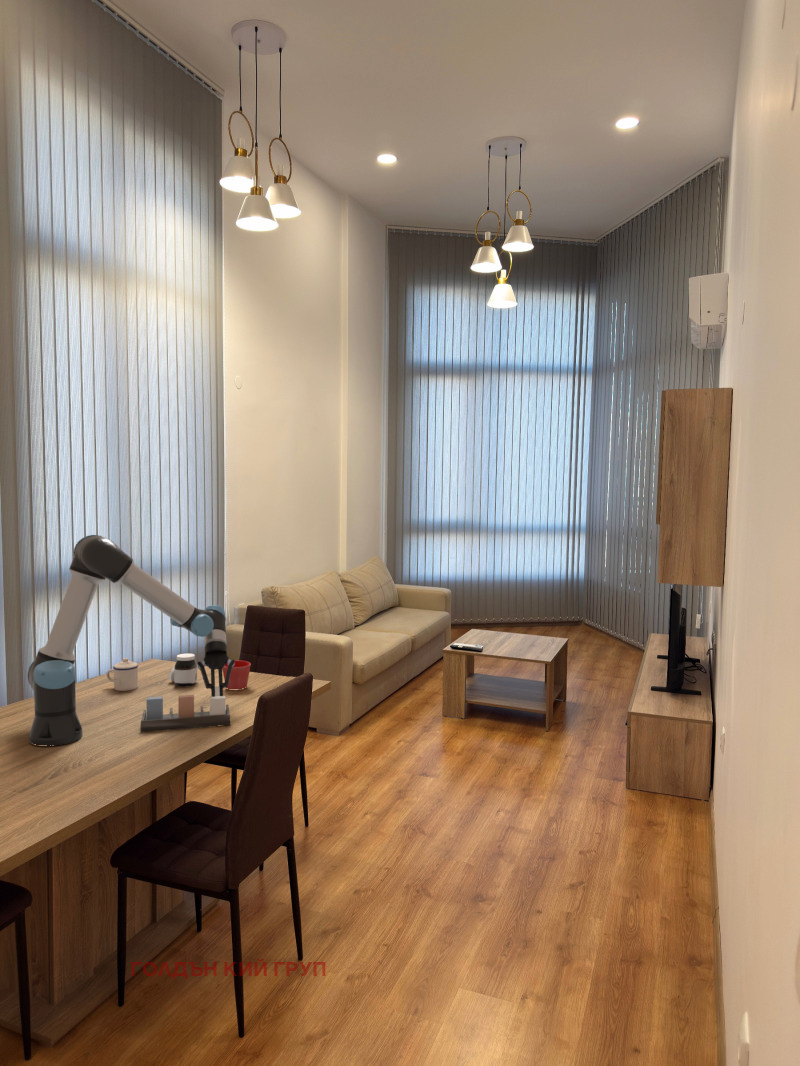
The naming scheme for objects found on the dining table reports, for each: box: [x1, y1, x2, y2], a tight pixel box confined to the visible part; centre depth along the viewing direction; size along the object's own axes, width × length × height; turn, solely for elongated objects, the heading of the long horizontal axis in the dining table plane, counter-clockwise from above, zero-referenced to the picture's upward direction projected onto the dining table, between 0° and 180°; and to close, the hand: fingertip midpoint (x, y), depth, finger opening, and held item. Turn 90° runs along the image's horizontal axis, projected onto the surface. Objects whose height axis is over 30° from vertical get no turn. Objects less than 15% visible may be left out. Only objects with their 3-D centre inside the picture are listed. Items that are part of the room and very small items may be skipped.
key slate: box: [146, 696, 164, 720], centre depth 247 cm, size 2×5×7 cm, turn 105°
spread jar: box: [168, 653, 198, 688], centre depth 297 cm, size 12×11×12 cm
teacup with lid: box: [106, 657, 139, 692], centre depth 290 cm, size 12×9×12 cm
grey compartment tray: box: [140, 704, 231, 733], centre depth 250 cm, size 12×28×4 cm, turn 105°
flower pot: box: [222, 659, 252, 689], centre depth 291 cm, size 11×11×10 cm
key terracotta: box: [177, 694, 195, 718], centre depth 250 cm, size 2×5×7 cm, turn 105°
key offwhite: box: [209, 695, 226, 716], centre depth 249 cm, size 2×5×7 cm, turn 105°
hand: (217, 705), depth 251 cm, fingers closed
